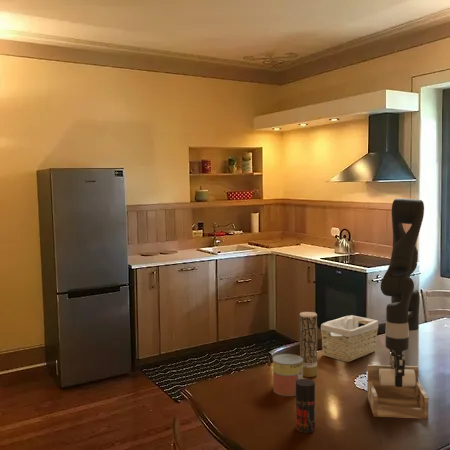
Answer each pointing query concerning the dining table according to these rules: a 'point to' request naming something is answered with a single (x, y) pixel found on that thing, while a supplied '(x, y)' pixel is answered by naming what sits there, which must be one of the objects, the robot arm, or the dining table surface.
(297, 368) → the canned food
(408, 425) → the dining table surface
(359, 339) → the storage basket
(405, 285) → the robot arm
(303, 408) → the deodorant
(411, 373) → the white cylinder
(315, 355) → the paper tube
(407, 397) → the holder
